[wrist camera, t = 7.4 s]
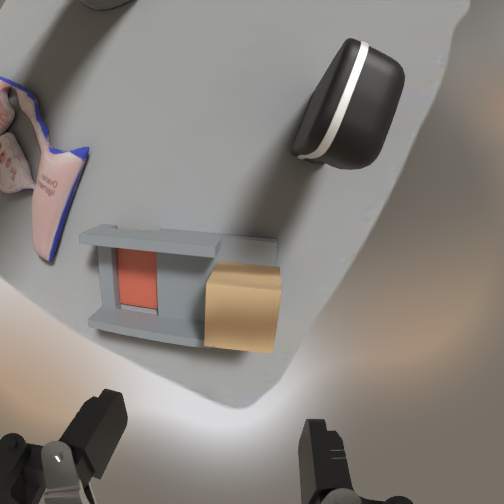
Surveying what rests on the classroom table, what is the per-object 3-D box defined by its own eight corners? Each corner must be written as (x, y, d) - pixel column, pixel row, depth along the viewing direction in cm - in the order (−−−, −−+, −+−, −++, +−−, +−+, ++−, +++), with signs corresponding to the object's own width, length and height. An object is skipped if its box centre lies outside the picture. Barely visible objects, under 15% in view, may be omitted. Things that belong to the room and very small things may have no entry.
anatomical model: (59, 259, 28) (109, 126, 24) (43, 268, 25) (94, 123, 21) (-32, 182, 26) (2, 75, 22) (-47, 185, 23) (-13, 72, 19)
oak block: (218, 260, 25) (206, 283, 20) (279, 267, 25) (281, 291, 20) (215, 315, 26) (204, 345, 21) (272, 321, 26) (272, 353, 21)
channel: (103, 224, 26) (78, 234, 22) (277, 239, 25) (279, 253, 21) (108, 307, 28) (89, 327, 24) (267, 329, 28) (266, 355, 24)
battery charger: (331, 174, 24) (381, 181, 13) (287, 156, 23) (305, 145, 12) (360, 101, 22) (422, 60, 11) (318, 82, 22) (354, 23, 11)
